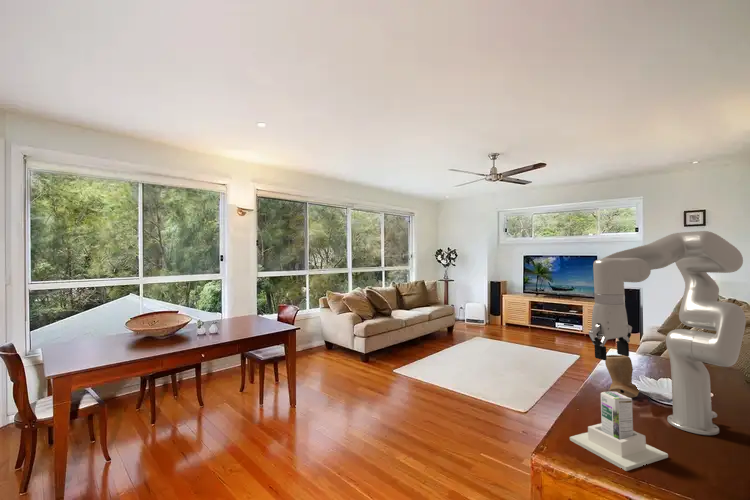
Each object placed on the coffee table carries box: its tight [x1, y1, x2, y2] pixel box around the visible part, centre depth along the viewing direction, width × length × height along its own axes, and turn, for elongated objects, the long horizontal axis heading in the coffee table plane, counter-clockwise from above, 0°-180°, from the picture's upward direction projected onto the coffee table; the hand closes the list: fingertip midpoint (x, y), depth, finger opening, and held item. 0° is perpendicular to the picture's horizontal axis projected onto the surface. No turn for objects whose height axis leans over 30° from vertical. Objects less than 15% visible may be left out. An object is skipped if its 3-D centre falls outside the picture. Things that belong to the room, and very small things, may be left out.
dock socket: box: [569, 422, 669, 472], centre depth 102 cm, size 17×17×5 cm
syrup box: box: [600, 391, 634, 440], centre depth 102 cm, size 6×6×14 cm
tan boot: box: [604, 354, 641, 398], centre depth 144 cm, size 15×12×15 cm
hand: (612, 357), depth 103 cm, fingers open, 9 cm apart
